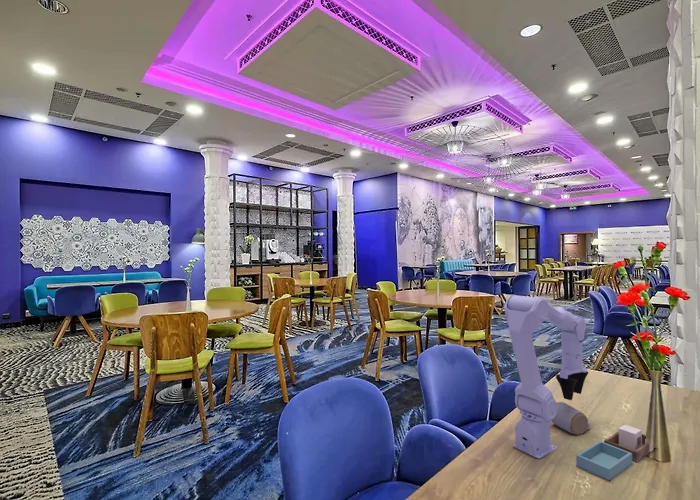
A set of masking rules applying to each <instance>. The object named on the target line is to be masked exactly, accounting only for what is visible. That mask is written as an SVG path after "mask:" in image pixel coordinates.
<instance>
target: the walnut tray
mask: <svg viewBox="0 0 700 500" xmlns="http://www.w3.org/2000/svg"><path fill="white" fill-rule="evenodd" d="M646 435H647V434H644V433H642V446H641V447H640V448H638V449H637V450H636V451H634V450H631V449H628V448H626V447H623V446H621V445H619V431H617V432H616V433H614V434H612V435H611V436H609V437H606V439H604V440H603V442H604V443H607V444H609V445H612V446H614V447H617V448H620V449H622V450H625V451H627V452H630V453H632V462H634V463H639V462H640V461H641V460H643V459H644V458H645V457H646V456H648V455H649V454H650V453H649V443H648V442H647V443H646V444H645V439H646ZM648 453H649V454H648Z"/></svg>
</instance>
